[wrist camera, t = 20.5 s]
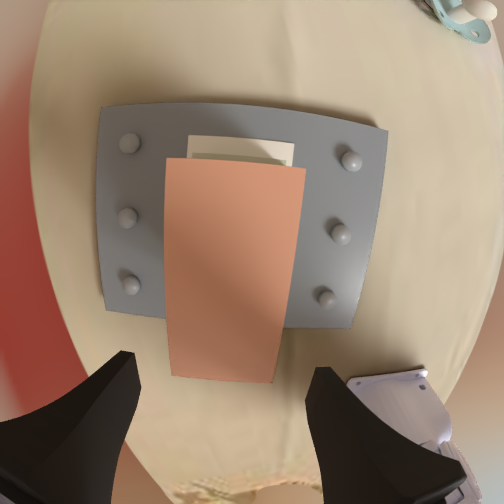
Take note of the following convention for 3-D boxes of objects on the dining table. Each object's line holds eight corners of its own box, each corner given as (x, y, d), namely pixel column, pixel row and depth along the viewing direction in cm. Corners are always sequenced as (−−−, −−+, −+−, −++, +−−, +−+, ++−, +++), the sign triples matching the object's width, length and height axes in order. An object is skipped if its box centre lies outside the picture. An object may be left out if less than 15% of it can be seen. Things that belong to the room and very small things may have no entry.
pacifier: (406, -23, 11) (421, 23, 12) (441, -54, 5) (466, -4, 7) (465, 6, 11) (479, 53, 13) (502, -12, 5) (523, 40, 7)
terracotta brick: (285, 165, 11) (306, 168, 8) (265, 328, 14) (272, 382, 10) (191, 158, 11) (166, 157, 7) (187, 322, 14) (171, 375, 10)
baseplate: (381, 131, 16) (393, 130, 14) (346, 321, 20) (353, 333, 19) (107, 109, 14) (96, 106, 13) (111, 303, 19) (102, 314, 17)
